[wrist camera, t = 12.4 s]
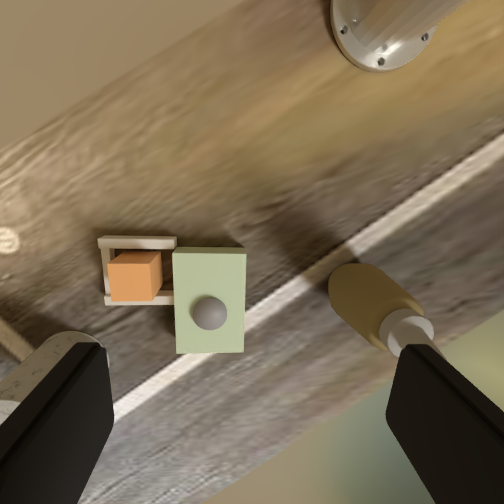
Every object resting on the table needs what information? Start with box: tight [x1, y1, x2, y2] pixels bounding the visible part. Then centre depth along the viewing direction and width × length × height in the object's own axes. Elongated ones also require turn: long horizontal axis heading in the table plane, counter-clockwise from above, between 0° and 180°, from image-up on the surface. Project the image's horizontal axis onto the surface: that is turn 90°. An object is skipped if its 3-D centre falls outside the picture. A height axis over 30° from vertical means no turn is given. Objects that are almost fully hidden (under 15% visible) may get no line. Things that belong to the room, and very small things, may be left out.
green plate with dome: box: [98, 235, 246, 354], centre depth 36 cm, size 15×18×4 cm
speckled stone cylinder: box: [0, 331, 109, 425], centre depth 33 cm, size 10×10×12 cm
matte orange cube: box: [107, 251, 163, 302], centre depth 34 cm, size 5×5×6 cm
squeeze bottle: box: [328, 263, 447, 361], centre depth 31 cm, size 8×8×18 cm
